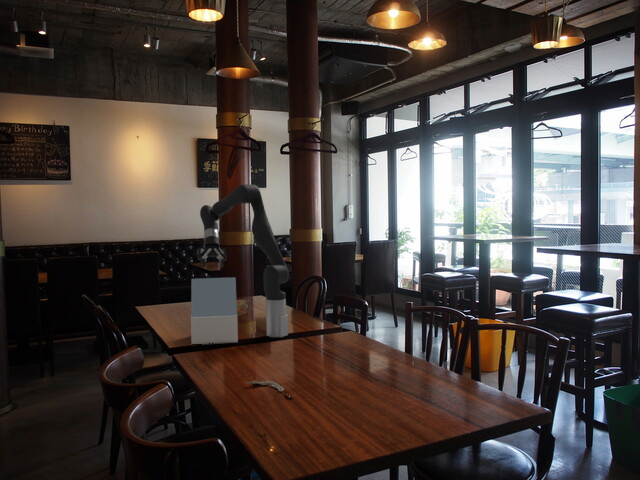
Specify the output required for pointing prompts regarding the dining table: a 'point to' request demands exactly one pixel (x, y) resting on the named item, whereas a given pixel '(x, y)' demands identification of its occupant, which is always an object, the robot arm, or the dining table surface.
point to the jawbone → (269, 384)
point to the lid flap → (213, 297)
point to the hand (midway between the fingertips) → (212, 266)
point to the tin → (242, 307)
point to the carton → (214, 329)
